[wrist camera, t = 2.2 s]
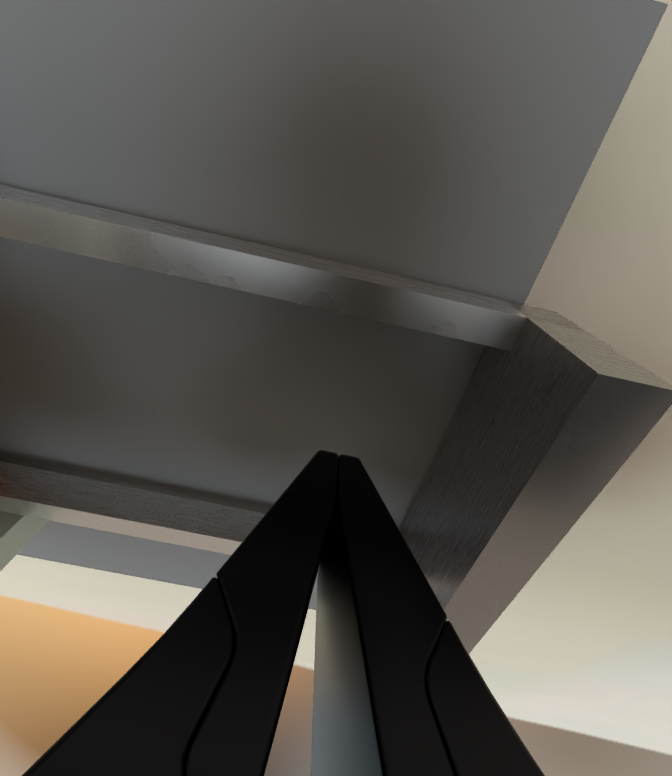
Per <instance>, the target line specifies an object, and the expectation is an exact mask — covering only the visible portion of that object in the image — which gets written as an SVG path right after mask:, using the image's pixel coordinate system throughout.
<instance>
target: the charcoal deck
mask: <svg viewBox="0 0 672 776" xmlns="http://www.w3.org/2000/svg"><path fill="white" fill-rule="evenodd" d="M667 6H668V4H665V3H661V2H657V1H654V0H0V185H5V186H9V187H13V188H18V189H22V190H26V191H31V192H35V193H39V194H44V195H48V196H53V197H57V198H61V199H66V200H70V201H74V202H79V203H83V204H87V205H92V206H96V207H100V208H105V209H109V210H113V211H118V212H122V213H126V214H131V215H135V216H139V217H144V218H148V219H153V220H157V221H161V222H166V223H170V224H174V225H179V226H183V227H187V228H192V229H196V230H200V231H205V232H209V233H213V234H218V235H222V236H226V237H231V238H235V239H239V240H244V241H248V242H253V243H257V244H261V245H266V246H270V247H274V248H279V249H283V250H287V251H292V252H296V253H300V254H305V255H309V256H313V257H318V258H322V259H326V260H331V261H335V262H339V263H344V264H348V265H353V266H357V267H361V268H366V269H370V270H374V271H379V272H383V273H387V274H392V275H396V276H400V277H405V278H409V279H413V280H418V281H422V282H426V283H431V284H435V285H439V286H444V287H448V288H453V289H457V290H461V291H466V292H470V293H474V294H479V295H483V296H487V297H492V298H496V299H500V300H505V301H509V302H513V303H518V304H522V305H524V302H525V300H526V298H527V296H528V294H529V292H530V290H531V288H532V286H533V284H534V282H535V280H536V278H537V276H538V273H539V271H540V269H541V267H542V265H543V263H544V261H545V259H546V257H547V255H548V253H549V251H550V249H551V246H552V244H553V242H554V240H555V238H556V236H557V234H558V232H559V230H560V228H561V226H562V224H563V222H564V219H565V217H566V215H567V213H568V211H569V209H570V207H571V205H572V203H573V201H574V199H575V197H576V195H577V192H578V190H579V188H580V186H581V184H582V182H583V180H584V178H585V176H586V174H587V172H588V170H589V168H590V165H591V163H592V161H593V159H594V157H595V155H596V153H597V151H598V149H599V147H600V145H601V143H602V141H603V138H604V136H605V134H606V132H607V130H608V128H609V126H610V124H611V122H612V120H613V118H614V116H615V114H616V112H617V109H618V107H619V105H620V103H621V101H622V99H623V97H624V95H625V93H626V91H627V89H628V87H629V85H630V82H631V80H632V78H633V76H634V74H635V72H636V70H637V68H638V66H639V64H640V62H641V60H642V58H643V55H644V53H645V51H646V49H647V47H648V45H649V43H650V41H651V39H652V37H653V35H654V33H655V31H656V28H657V26H658V24H659V22H660V20H661V18H662V16H663V14H664V12H665V10H666V8H667ZM484 347H485V345H482V344H477V343H473V342H469V341H464V340H460V339H455V338H451V337H446V336H442V335H437V334H433V333H428V332H424V331H419V330H415V329H410V328H406V327H401V326H397V325H392V324H388V323H384V322H379V321H375V320H370V319H366V318H361V317H357V316H352V315H348V314H343V313H339V312H334V311H330V310H325V309H321V308H316V307H312V306H308V305H303V304H299V303H294V302H290V301H285V300H281V299H276V298H272V297H267V296H263V295H258V294H254V293H249V292H245V291H240V290H236V289H231V288H227V287H223V286H218V285H214V284H209V283H205V282H200V281H196V280H191V279H187V278H182V277H178V276H173V275H169V274H164V273H160V272H155V271H151V270H146V269H142V268H138V267H133V266H129V265H124V264H120V263H115V262H111V261H106V260H102V259H97V258H93V257H88V256H84V255H79V254H75V253H70V252H66V251H62V250H57V249H53V248H48V247H44V246H39V245H35V244H30V243H26V242H21V241H17V240H12V239H8V238H3V237H0V462H5V463H10V464H15V465H20V466H25V467H30V468H35V469H41V470H46V471H51V472H56V473H61V474H66V475H71V476H76V477H81V478H86V479H92V480H97V481H102V482H107V483H112V484H117V485H122V486H127V487H132V488H138V489H143V490H148V491H153V492H158V493H163V494H168V495H173V496H178V497H183V498H189V499H194V500H199V501H204V502H209V503H214V504H219V505H224V506H229V507H234V508H240V509H245V510H250V511H255V512H260V513H265V514H266V513H267V512H268V510H269V509H270V508H271V507H272V506H273V504H274V503H275V502H276V501H277V500H278V498H279V497H280V496H281V495H282V494H283V492H284V491H285V490H286V489H287V487H288V486H289V485H290V484H291V483H292V481H293V480H294V479H295V478H296V477H297V475H298V474H299V473H300V472H301V471H302V469H303V468H304V467H305V466H306V465H307V463H308V462H309V461H310V460H311V459H312V457H313V456H314V455H315V454H316V453H317V451H319V450H325V451H330V452H335V453H337V454H338V457H339V455H341V454H344V455H349V456H354V457H358V458H359V459H360V460H361V462H362V464H363V466H364V467H365V469H366V471H367V473H368V475H369V476H370V478H371V480H372V482H373V484H374V485H375V487H376V489H377V491H378V493H379V494H380V496H381V498H382V500H383V502H384V503H385V505H386V507H387V509H388V511H389V512H390V514H391V516H392V518H393V520H394V521H395V523H396V525H397V527H398V529H399V530H400V532H401V530H402V528H403V526H404V524H405V521H406V519H407V517H408V515H409V513H410V510H411V508H412V506H413V504H414V502H415V499H416V497H417V495H418V493H419V491H420V488H421V486H422V484H423V482H424V479H425V477H426V475H427V473H428V471H429V468H430V466H431V464H432V462H433V460H434V457H435V455H436V453H437V451H438V449H439V446H440V444H441V442H442V440H443V438H444V435H445V433H446V431H447V429H448V427H449V424H450V422H451V420H452V418H453V416H454V413H455V411H456V409H457V407H458V404H459V402H460V400H461V398H462V396H463V393H464V391H465V389H466V387H467V385H468V382H469V380H470V378H471V376H472V374H473V371H474V369H475V367H476V365H477V363H478V360H479V358H480V356H481V354H482V352H483V349H484ZM17 555H22V556H28V557H33V558H39V559H44V560H49V561H55V562H60V563H66V564H71V565H76V566H82V567H87V568H93V569H98V570H103V571H109V572H114V573H120V574H125V575H130V576H136V577H141V578H147V579H152V580H157V581H163V582H168V583H174V584H179V585H184V586H190V587H195V588H201V589H203V588H204V587H205V586H206V585H207V584H208V582H209V581H210V580H211V579H212V578H213V577H215V578H216V573H217V572H218V571H219V569H220V568H221V567H222V566H223V565H224V563H225V562H226V561H227V560H228V559H229V557H230V556H231V555H229V554H224V553H218V552H213V551H208V550H203V549H197V548H192V547H187V546H181V545H176V544H171V543H166V542H160V541H155V540H150V539H145V538H139V537H134V536H129V535H124V534H118V533H113V532H108V531H102V530H97V529H92V528H87V527H81V526H76V525H71V524H66V523H60V522H55V521H50V520H49V521H48V522H47V523H46V524H45V525H44V526H43V527H42V528H41V529H40V530H39V531H38V532H37V533H36V534H35V535H34V536H33V537H32V538H31V540H30V541H29V542H28V543H27V544H26V545H25V546H24V547H23V548H22V549H21V550H20V551H19V552H18V553H17ZM317 578H318V573H317V576H316V580H315V584H314V588H313V591H312V595H311V599H310V603H309V607H308V608H309V609H314V610H316V607H317Z"/></svg>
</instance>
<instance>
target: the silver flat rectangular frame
mask: <svg viewBox="0 0 672 776" xmlns="http://www.w3.org/2000/svg"><path fill="white" fill-rule="evenodd" d="M0 237H3V238H8V239H12V240H17V241H21V242H26V243H30V244H35V245H39V246H44V247H48V248H53V249H57V250H62V251H66V252H70V253H75V254H79V255H84V256H88V257H93V258H97V259H102V260H106V261H111V262H115V263H120V264H124V265H129V266H133V267H138V268H142V269H146V270H151V271H155V272H160V273H164V274H169V275H173V276H178V277H182V278H187V279H191V280H196V281H200V282H205V283H209V284H214V285H218V286H223V287H227V288H231V289H236V290H240V291H245V292H249V293H254V294H258V295H263V296H267V297H272V298H276V299H281V300H285V301H290V302H294V303H299V304H303V305H308V306H312V307H316V308H321V309H325V310H330V311H334V312H339V313H343V314H348V315H352V316H357V317H361V318H366V319H370V320H375V321H379V322H384V323H388V324H392V325H397V326H401V327H406V328H410V329H415V330H419V331H424V332H428V333H433V334H437V335H442V336H446V337H451V338H455V339H460V340H464V341H469V342H473V343H477V344H482V345H485V347H484V349H483V352H482V354H481V356H480V358H479V360H478V363H477V365H476V367H475V369H474V371H473V374H472V376H471V378H470V380H469V382H468V385H467V387H466V389H465V391H464V393H463V396H462V398H461V400H460V402H459V404H458V407H457V409H456V411H455V413H454V416H453V418H452V420H451V422H450V424H449V427H448V429H447V431H446V433H445V435H444V438H443V440H442V442H441V444H440V446H439V449H438V451H437V453H436V455H435V457H434V460H433V462H432V464H431V466H430V468H429V471H428V473H427V475H426V477H425V479H424V482H423V484H422V486H421V488H420V491H419V493H418V495H417V497H416V499H415V502H414V504H413V506H412V508H411V510H410V513H409V515H408V517H407V519H406V521H405V524H404V526H403V528H402V530H401V534H402V536H403V538H404V539H405V541H406V543H407V545H408V547H409V548H410V550H411V552H412V554H413V556H414V557H415V559H416V561H417V563H418V565H419V566H420V568H421V570H422V572H423V574H424V575H425V577H426V579H427V581H428V583H429V584H430V586H431V588H432V590H433V592H434V593H435V595H436V597H437V599H438V601H439V602H440V604H441V606H442V608H443V610H444V611H445V613H446V615H447V620H446V621H450V622H451V624H452V625H453V627H454V629H455V631H456V633H457V634H458V636H459V638H460V640H461V642H462V643H463V645H464V647H465V649H466V651H467V652H468V654H469V653H470V652H471V651H472V649H473V648H474V647H475V646H476V644H477V643H478V642H479V641H480V640H481V638H482V637H483V636H484V635H485V633H486V632H487V631H488V630H489V628H490V627H491V626H492V625H493V624H494V622H495V621H496V620H497V619H498V617H499V616H500V615H501V614H502V612H503V611H504V610H505V609H506V608H507V606H508V605H509V604H510V603H511V601H512V600H513V599H514V598H515V596H516V595H517V594H518V593H519V592H520V590H521V589H522V588H523V587H524V585H525V584H526V583H527V582H528V580H529V579H530V578H531V577H532V576H533V574H534V573H535V572H536V571H537V569H538V568H539V567H540V566H541V564H542V563H543V562H544V561H545V560H546V558H547V557H548V556H549V555H550V553H551V552H552V551H553V550H554V548H555V547H556V546H557V545H558V543H559V542H560V541H561V540H562V539H563V537H564V536H565V535H566V534H567V532H568V531H569V530H570V529H571V527H572V526H573V525H574V524H575V523H576V521H577V520H578V519H579V518H580V516H581V515H582V514H583V513H584V511H585V510H586V509H587V508H588V507H589V505H590V504H591V503H592V502H593V500H594V499H595V498H596V497H597V495H598V494H599V493H600V492H601V491H602V489H603V488H604V487H605V486H606V484H607V483H608V482H609V481H610V479H611V478H612V477H613V476H614V475H615V473H616V472H617V471H618V470H619V468H620V467H621V466H622V465H623V463H624V462H625V461H626V460H627V459H628V457H629V456H630V455H631V454H632V452H633V451H634V450H635V449H636V447H637V446H638V445H639V444H640V443H641V441H642V440H643V439H644V438H645V436H646V435H647V434H648V433H649V431H650V430H651V429H652V428H653V427H654V425H655V424H656V423H657V422H658V420H659V419H660V418H661V417H662V415H663V414H664V413H665V412H666V411H667V409H668V408H669V407H670V406H671V404H672V386H671V385H669V384H668V383H666V382H665V381H663V380H661V379H660V378H658V377H657V376H655V375H654V374H652V373H650V372H649V371H647V370H646V369H644V368H643V367H641V366H640V365H638V364H636V363H635V362H633V361H632V360H630V359H629V358H627V357H625V356H624V355H622V354H621V353H619V352H618V351H616V350H614V349H613V348H611V347H610V346H608V345H607V344H605V343H604V342H602V341H600V340H599V339H597V338H596V337H594V336H593V335H591V334H589V333H588V332H586V331H585V330H583V329H582V328H580V327H578V326H577V325H575V324H574V323H572V322H571V321H569V320H568V319H566V318H564V317H563V316H561V315H560V314H558V313H557V312H553V311H548V310H544V309H539V308H535V307H531V306H526V305H522V304H518V303H513V302H509V301H505V300H500V299H496V298H492V297H487V296H483V295H479V294H474V293H470V292H466V291H461V290H457V289H453V288H448V287H444V286H439V285H435V284H431V283H426V282H422V281H418V280H413V279H409V278H405V277H400V276H396V275H392V274H387V273H383V272H379V271H374V270H370V269H366V268H361V267H357V266H353V265H348V264H344V263H339V262H335V261H331V260H326V259H322V258H318V257H313V256H309V255H305V254H300V253H296V252H292V251H287V250H283V249H279V248H274V247H270V246H266V245H261V244H257V243H253V242H248V241H244V240H239V239H235V238H231V237H226V236H222V235H218V234H213V233H209V232H205V231H200V230H196V229H192V228H187V227H183V226H179V225H174V224H170V223H166V222H161V221H157V220H153V219H148V218H144V217H139V216H135V215H131V214H126V213H122V212H118V211H113V210H109V209H105V208H100V207H96V206H92V205H87V204H83V203H79V202H74V201H70V200H66V199H61V198H57V197H53V196H48V195H44V194H39V193H35V192H31V191H26V190H22V189H18V188H13V187H9V186H5V185H0ZM0 511H2V512H8V513H13V514H18V515H23V516H29V517H34V518H39V519H45V520H50V521H55V522H60V523H66V524H71V525H76V526H81V527H87V528H92V529H97V530H102V531H108V532H113V533H118V534H124V535H129V536H134V537H139V538H145V539H150V540H155V541H160V542H166V543H171V544H176V545H181V546H187V547H192V548H197V549H203V550H208V551H213V552H218V553H224V554H229V555H232V554H233V553H234V551H235V550H236V549H237V548H238V547H239V545H240V544H241V543H242V542H243V541H244V539H245V538H246V537H247V536H248V534H249V533H250V532H251V531H252V530H253V528H254V527H255V526H256V525H257V524H258V522H259V521H260V520H261V519H262V518H263V516H264V515H265V513H260V512H255V511H250V510H245V509H240V508H234V507H229V506H224V505H219V504H214V503H209V502H204V501H199V500H194V499H189V498H183V497H178V496H173V495H168V494H163V493H158V492H153V491H148V490H143V489H138V488H132V487H127V486H122V485H117V484H112V483H107V482H102V481H97V480H92V479H86V478H81V477H76V476H71V475H66V474H61V473H56V472H51V471H46V470H41V469H35V468H30V467H25V466H20V465H15V464H10V463H5V462H0Z"/></svg>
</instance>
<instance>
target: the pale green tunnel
mask: <svg viewBox="0 0 672 776" xmlns="http://www.w3.org/2000/svg"><path fill="white" fill-rule="evenodd" d="M48 521H49V520H45V519H39V518H34V517H29V516H23V515H18V514H13V513H8V512H2V511H0V571H1V570H2V569H3V568H4V567H5V566H6V565H7V564H8V563H9V562H10V561H11V560H12V559H13V558H14V556H15V555H16V554H17V553H18V552H19V551H20V550H21V549H22V548H23V547H24V546H25V545H26V544H27V543H28V542H29V541H30V540H31V538H32V537H33V536H34V535H35V534H36V533H37V532H38V531H39V530H40V529H41V528H42V527H43V526H44V525H45V524H46V523H47V522H48Z"/></svg>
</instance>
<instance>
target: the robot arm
mask: <svg viewBox="0 0 672 776" xmlns="http://www.w3.org/2000/svg"><path fill="white" fill-rule="evenodd" d="M317 573H318V578H317V607H316V635H315V664H314V693H313V722H312V750H311V776H545V775H544V774H543V772H542V771H541V769H540V768H539V766H538V765H537V763H536V762H535V760H534V759H533V757H532V756H531V754H530V753H529V751H528V750H527V748H526V746H525V745H524V743H523V742H522V741H521V739H520V737H519V736H518V734H517V733H516V731H515V729H514V728H513V726H512V725H511V723H510V721H509V720H508V718H507V717H506V715H505V714H504V712H503V710H502V709H501V707H500V706H499V704H498V703H497V701H496V699H495V698H494V696H493V695H492V693H491V692H490V690H489V688H488V686H487V685H486V683H485V681H484V680H483V678H482V676H481V674H480V673H479V671H478V669H477V668H476V666H475V664H474V663H473V661H472V659H471V657H470V656H469V654H468V652H467V651H466V649H465V647H464V645H463V643H462V642H461V640H460V638H459V636H458V634H457V633H456V631H455V629H454V627H453V625H452V624H451V622H450V621H446V620H447V615H446V613H445V611H444V610H443V608H442V606H441V604H440V602H439V601H438V599H437V597H436V595H435V593H434V592H433V590H432V588H431V586H430V584H429V583H428V581H427V579H426V577H425V575H424V574H423V572H422V570H421V568H420V566H419V565H418V563H417V561H416V559H415V557H414V556H413V554H412V552H411V550H410V548H409V547H408V545H407V543H406V541H405V539H404V538H403V536H402V534H401V532H400V530H399V529H398V527H397V525H396V523H395V521H394V520H393V518H392V516H391V514H390V512H389V511H388V509H387V507H386V505H385V503H384V502H383V500H382V498H381V496H380V494H379V493H378V491H377V489H376V487H375V485H374V484H373V482H372V480H371V478H370V476H369V475H368V473H367V471H366V469H365V467H364V466H363V464H362V462H361V460H360V459H359V458H358V457H354V456H349V455H344V454H341V455H339V457H338V454H337V453H335V452H330V451H325V450H319V451H317V453H316V454H315V455H314V456H313V457H312V459H311V460H310V461H309V462H308V463H307V465H306V466H305V467H304V468H303V469H302V471H301V472H300V473H299V474H298V475H297V477H296V478H295V479H294V480H293V481H292V483H291V484H290V485H289V486H288V487H287V489H286V490H285V491H284V492H283V494H282V495H281V496H280V497H279V498H278V500H277V501H276V502H275V503H274V504H273V506H272V507H271V508H270V509H269V510H268V512H267V513H266V514H265V515H264V516H263V518H262V519H261V520H260V521H259V522H258V524H257V525H256V526H255V527H254V528H253V530H252V531H251V532H250V533H249V534H248V536H247V537H246V538H245V539H244V541H243V542H242V543H241V544H240V545H239V547H238V548H237V549H236V550H235V551H234V553H233V554H232V555H231V556H230V557H229V559H228V560H227V561H226V562H225V563H224V565H223V566H222V567H221V568H220V569H219V571H218V572H217V573H216V578H215V577H213V578H212V579H211V580H210V581H209V582H208V584H207V585H206V586H205V587H204V588H203V590H202V591H201V592H200V593H199V594H198V596H197V597H196V598H195V599H194V600H193V601H192V603H191V604H190V605H189V606H188V607H187V608H186V609H185V611H184V612H183V613H182V614H181V615H180V616H179V617H178V619H177V620H176V621H175V622H174V623H173V624H172V625H171V626H170V628H169V629H168V630H167V631H166V632H165V633H164V634H163V635H162V636H161V637H160V638H159V640H158V641H157V642H156V643H155V644H154V645H153V646H152V647H151V648H150V649H149V650H148V651H147V652H146V653H145V654H144V655H143V656H142V657H141V658H140V659H139V660H138V661H137V662H136V663H135V664H134V665H133V666H132V668H130V669H129V670H128V671H127V673H126V674H125V675H124V676H123V677H122V678H121V679H119V681H117V682H116V684H114V686H112V688H110V689H109V690H108V691H107V692H106V693H105V694H104V695H103V696H102V697H101V698H100V699H99V700H98V701H97V702H96V703H95V704H94V705H93V706H92V707H91V708H90V709H89V710H88V711H87V712H86V713H85V714H84V715H83V716H82V717H81V718H80V719H79V720H78V721H77V722H76V723H75V724H74V725H73V726H72V727H71V728H70V729H69V730H68V731H67V732H66V733H65V734H64V735H63V736H62V737H61V738H60V739H59V740H58V741H56V743H55V744H54V745H52V746H51V747H50V748H49V749H48V750H47V751H46V752H45V753H44V754H43V755H42V756H41V757H40V759H38V760H37V761H36V762H35V763H34V764H33V765H32V766H31V767H30V768H29V769H28V770H27V771H26V772H25V773H24V774H23V775H22V776H264V773H265V769H266V766H267V762H268V758H269V755H270V751H271V747H272V743H273V739H274V736H275V732H276V728H277V724H278V720H279V717H280V712H281V709H282V705H283V701H284V697H285V694H286V690H287V686H288V682H289V679H290V675H291V671H292V667H293V664H294V660H295V656H296V652H297V648H298V645H299V641H300V637H301V633H302V629H303V626H304V622H305V618H306V614H307V610H308V607H309V603H310V599H311V595H312V591H313V588H314V584H315V580H316V576H317Z"/></svg>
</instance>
